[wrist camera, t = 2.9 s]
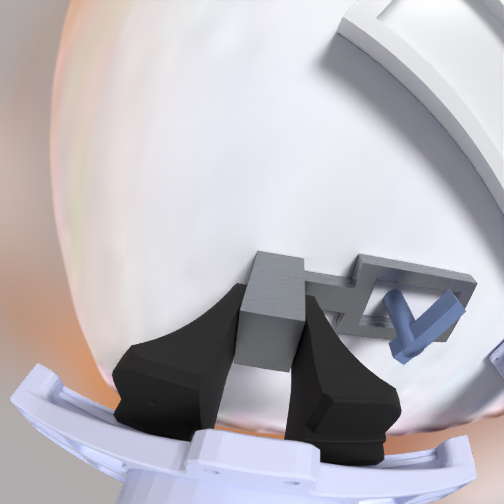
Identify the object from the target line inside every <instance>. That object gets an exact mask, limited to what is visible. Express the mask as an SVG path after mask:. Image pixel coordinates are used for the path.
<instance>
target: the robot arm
mask: <svg viewBox="0 0 504 504" xmlns="http://www.w3.org/2000/svg"><path fill="white" fill-rule="evenodd" d="M246 288H247V285H244V284H239V283H237V284H235V285H234V286H233V287H232V289H231V290H230V291H229V292H228V293H227V294H226V295H225V296H224V297H223V298H222V299H221V300H220V301H219V302H218V303H216V304H215V305H214V306H213V307H212V308H211V309H209V310H208V311H207V312H205V313H204V314H203V315H202V316H200V317H199V318H197V319H196V320H194V321H193V322H191V323H190V324H188V325H186V326H184V327H182V328H181V329H179V330H177V331H175V332H172V333H170V334H168V335H165V336H163V337H160V338H157V339H154V340H151V341H147V342H144V343H140V344H136V345H132V346H131V347H130V348H129V349H128V350H127V351H126V353H125V354H124V355H123V356H122V358H121V359H120V361H119V363H118V364H117V366H116V367H115V369H114V370H113V374H112V377H113V381H114V383H115V386H116V388H117V390H118V393H119V395H120V397H121V401H120V403H119V405H118V406H117V408H116V410H115V411H114V410H112V409H109V408H107V407H105V406H103V405H101V404H98V403H96V402H94V401H92V400H90V399H88V398H86V397H84V396H82V395H80V394H78V393H76V392H74V391H73V390H71V389H69V388H67V387H65V386H64V385H63V382H62V380H61V379H60V378H59V376H58V375H57V374H55V373H54V372H53V371H51V370H50V369H48V368H46V367H45V366H43V365H41V364H40V363H37V364H36V366H35V367H34V368H33V369H32V371H31V372H30V373H29V374H28V375H27V377H26V378H25V379H24V381H23V382H22V383H21V384H20V386H19V387H18V388H17V390H16V391H15V392H14V394H13V395H12V396H11V398H10V400H11V402H12V403H13V404H14V405H15V407H16V408H17V409H18V410H19V411H20V412H21V414H22V415H23V416H24V417H25V418H26V419H27V420H28V421H29V423H30V424H31V425H32V426H33V427H34V428H35V429H36V430H38V431H39V432H40V433H42V434H43V435H45V436H46V437H47V438H49V439H50V440H52V441H53V442H55V443H56V444H57V445H59V446H60V447H62V448H63V449H65V450H66V451H68V452H69V453H71V454H73V455H74V456H76V457H77V458H79V459H81V460H82V461H84V462H85V463H87V464H89V465H91V466H92V467H94V468H96V469H98V470H99V471H101V472H103V473H105V474H107V475H109V476H110V477H112V478H114V479H116V480H118V481H120V482H122V483H124V485H123V487H122V490H121V492H120V494H119V497H118V499H117V502H116V504H425V503H429V502H433V501H436V500H439V499H442V498H444V497H446V496H448V495H449V494H452V493H453V492H455V491H457V490H459V489H461V488H462V487H464V486H466V485H467V484H469V483H471V482H472V481H474V480H476V478H477V473H476V469H475V464H474V460H473V456H472V452H471V448H470V445H469V441H468V437H467V435H463V436H458V437H454V438H450V439H448V440H445V441H444V442H442V443H441V444H440V445H439V446H438V447H437V448H435V449H429V450H424V451H417V452H411V453H403V454H394V455H384V450H383V443H384V442H385V441H386V435H385V432H386V431H387V430H388V429H389V428H390V427H391V426H392V425H393V424H394V423H395V422H396V421H397V419H398V418H399V417H400V415H401V411H402V410H401V406H400V401H399V397H398V394H397V391H396V388H394V387H392V386H391V385H389V384H388V383H386V382H385V381H383V380H382V379H380V378H379V377H377V376H376V375H375V374H374V373H372V372H371V371H370V370H369V369H367V368H366V367H365V366H364V365H363V364H362V363H361V362H360V361H359V360H358V359H357V358H356V357H355V356H354V355H353V354H352V353H351V352H350V351H349V350H348V349H347V348H346V346H345V345H344V344H343V343H342V342H341V340H340V339H339V338H338V336H337V335H336V333H335V332H334V330H333V329H332V327H331V325H330V324H329V322H328V320H327V319H326V317H325V315H324V313H323V312H322V310H321V308H320V306H319V304H318V302H317V300H316V298H315V297H314V296H311V295H305V324H304V327H303V331H302V334H301V337H300V340H299V344H298V347H297V350H296V353H295V356H294V359H293V362H292V365H291V395H290V403H289V411H288V418H287V425H286V432H285V438H284V440H282V439H274V438H266V437H259V436H253V435H247V434H241V433H236V432H231V431H225V430H218V429H214V426H215V422H216V418H217V414H218V410H219V406H220V402H221V398H222V394H223V390H224V386H225V382H226V379H227V375H228V372H229V370H230V367H231V364H232V362H233V359H234V356H235V350H236V340H237V331H238V322H239V313H240V308H241V305H242V301H243V298H244V295H245V292H246ZM489 359H490V361H491V362H492V364H493V365H494V366H495V368H496V369H497V371H498V372H499V373H500V375H501V376H502V378H503V379H504V342H503V343H502V344H501V345H500V346H499V347H498V348H497V349H496V350H495V351H494V352H493V353H492V354H491V355H490V357H489Z"/></svg>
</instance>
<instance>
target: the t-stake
mask: <svg viewBox="0 0 504 504" xmlns="http://www.w3.org/2000/svg"><path fill="white" fill-rule="evenodd" d="M384 304H385V306H386V309H387V311H388V314H389V316H390V319H391V322H392V324H393V327H394V330H395V332H396V335H397V337H396V338H395V339H393V340H392V341H391V342H390V343H389V346H390V349H391V352H392V356H393V358H394V359H396V360H397V361H399V362H400V363H402V364H403V365H404V364H406V363H407V362H408V361H409V360H411V359H412V358H413V357H415V356H417V355H419V354H420V353H422V351H423V350H424V349H425V348H426V347H427V346H428V345H430V344H431V343H432V342H433V341H434V340H435V339H437V338H438V337H439V336H440V335H441V334H442V333H443V332H445V331H446V330H447V329H448V328H449V327H450V326H451V325H452V324H453V323H454V322H455V321H457V320H458V319H459V318H460V317H461V316H462V315H463V314H464V313H465V312H466V311H465V309H464V308H463V306H462V305H461V304H460V302H459V301H458V299H457V298H456V297H455V296H454V294H453V293H452V292H451V291H450V290H449V289H448V290H447V291H446V292H445V293H444V294H443V295H442V296H441V297H440V298H439V299H438V300H437V301H436V302H435V303H434V304H433V305H432V306H431V307H430V308H429V309H428V310H427V311H426V312H425V313H423V314H422V315H421V316H420V317H419V318H418V319H417V320H416V321H415V319H414V317H413V315H412V313H411V311H410V309H409V307H408V305H407V303H406V301H405V299H404V297H403V295H402V293H401V292H400V291H398V290H392V291H390V292H388V293H387V294H386V296H385V298H384Z"/></svg>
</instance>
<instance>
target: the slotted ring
mask: <svg viewBox="0 0 504 504" xmlns="http://www.w3.org/2000/svg"><path fill="white" fill-rule="evenodd" d="M376 280H381V281H387V282H394V283H400V284H406V285H413V286H419V287H426V288H432V289H439V290H445V291H447V290H448V289H449V290H450V291H451V292H452V293H453V294H454V296H455V297H456V298H457V299H458V301H459V302H460V304H461V305H462V306H463V308H464V309H465V308H466V306H467V304H468V302H469V300H470V298H471V296H472V294H473V292H474V290H475V288H476V285H477V282H476V281H475V280H474V279H473V277H472V276H471V275H468V274H463V273H458V272H453V271H448V270H443V269H438V268H433V267H428V266H423V265H417V264H412V263H407V262H401V261H396V260H391V259H385V258H380V257H374V256H369V255H363V254H359V256H358V259H357V263H356V266H355V269H354V272H353V275H352V278H345V277H339V276H333V275H327V274H321V273H314V272H308V271H304V259H303V258H297V257H291V256H285V255H279V254H273V253H267V252H261V251H258V252H257V256H256V259H255V262H254V265H253V269H252V272H251V275H250V279H249V282H248V285H247V288H246V292H245V295H244V298H243V301H242V305H241V308H240V313H239V322H238V331H237V340H236V350H235V359H234V363H236V364H241V365H246V366H252V367H258V368H263V369H270V370H276V371H283V372H289V371H290V368H291V365H292V362H293V359H294V356H295V353H296V350H297V347H298V344H299V340H300V337H301V334H302V331H303V327H304V324H305V295H311V296H314V297H315V298H316V300H317V302H318V304H319V306H320V308H321V310H327V311H334V312H340V313H339V316H338V319H337V322H336V324H337V331H338V334H347V335H356V336H365V337H375V338H387V339H395V338H396V337H397V335H396V332H395V330H394V327H393V324H392V322H391V319H390V318H384V317H376V316H367V315H363V313H364V310H365V308H366V305H367V303H368V300H369V298H370V295H371V293H372V290H373V287H374V285H375V282H376ZM459 319H460V318H459ZM459 319H458V320H457V321H455V322H454V323H453V324H452V325H451V326H450V327H449V328H448V329H447V330H446V331H445V332H443V333H442V334H441V335H440V336H439V337H438V338H437V339H435V340H434V341H433V342H446V341H447V339H448V338H449V336H450V334H451V333H452V331H453V329H454V328H455V326H456V324H457V322H458V321H459Z"/></svg>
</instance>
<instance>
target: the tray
mask: <svg viewBox="0 0 504 504" xmlns="http://www.w3.org/2000/svg"><path fill="white" fill-rule="evenodd" d="M336 32H338V33H339V34H341V35H342V36H344V37H345V38H347V39H348V40H349V41H351V42H352V43H354V44H355V45H356V46H358V47H359V48H360V49H362V50H363V51H364V52H366V53H367V54H368V55H369V56H371V57H372V58H373V59H374V60H376V61H377V62H378V63H379V64H381V65H382V66H383V67H384V68H385V69H386V70H388V71H389V72H390V73H391V74H392V75H393V76H394V77H396V78H397V79H398V80H399V81H400V82H401V83H402V84H403V85H404V86H405V87H406V88H407V89H408V90H409V91H410V92H411V93H412V94H413V95H415V96H416V98H417V99H418V100H419V101H420V102H421V103H422V104H423V105H424V106H425V107H426V108H427V109H428V110H429V111H430V112H431V113H432V114H433V116H434V117H435V118H436V119H437V120H438V121H439V122H440V123H441V125H442V126H443V127H444V128H445V129H446V131H447V132H448V133H449V134H450V135H451V137H452V138H453V139H454V140H455V142H456V143H457V144H458V145H459V147H460V148H461V149H462V151H463V152H464V153H465V155H466V156H467V158H468V159H469V160H470V162H471V163H472V165H473V166H474V167H475V169H476V170H477V172H478V173H479V175H480V176H481V178H482V179H483V181H484V183H485V184H486V186H487V187H488V189H489V191H490V192H491V194H492V196H493V197H494V199H495V201H496V202H497V204H498V206H499V208H500V210H501V211H502V213H503V215H504V0H358V1H357V2H356V3H355V4H354V6H353V7H352V8H351V9H350V10H349V11H348V12H347V13H346V14H345V15H344V16H343V17H342V20H341V22H340V24H339V27H338V29H337V31H336Z"/></svg>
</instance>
